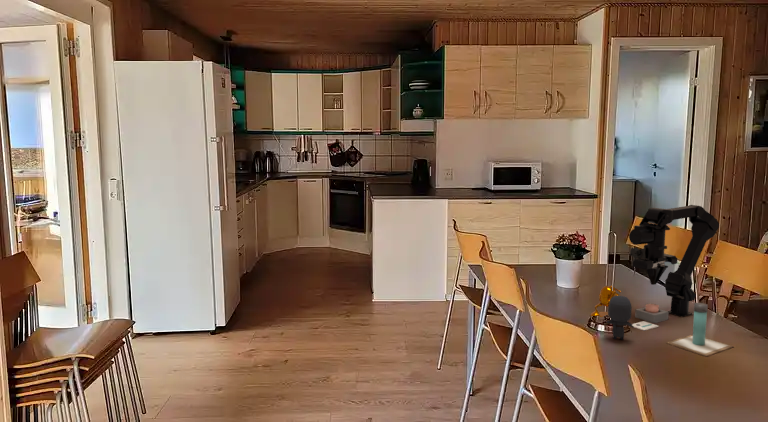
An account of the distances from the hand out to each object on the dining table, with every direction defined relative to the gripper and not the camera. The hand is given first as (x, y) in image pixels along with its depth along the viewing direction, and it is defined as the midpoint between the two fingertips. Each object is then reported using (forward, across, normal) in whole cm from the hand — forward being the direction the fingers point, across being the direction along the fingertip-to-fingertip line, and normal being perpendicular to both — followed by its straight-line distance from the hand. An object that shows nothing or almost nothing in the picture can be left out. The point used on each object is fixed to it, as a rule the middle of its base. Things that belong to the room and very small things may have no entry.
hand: (653, 284), depth 209 cm
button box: (+13, 0, 0) cm, 13 cm away
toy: (+13, +29, +8) cm, 33 cm away
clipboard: (+13, +11, +25) cm, 30 cm away
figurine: (+13, +13, -10) cm, 21 cm away
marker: (+12, +11, +24) cm, 30 cm away
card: (+13, +10, +4) cm, 17 cm away
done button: (+11, 0, 0) cm, 11 cm away
